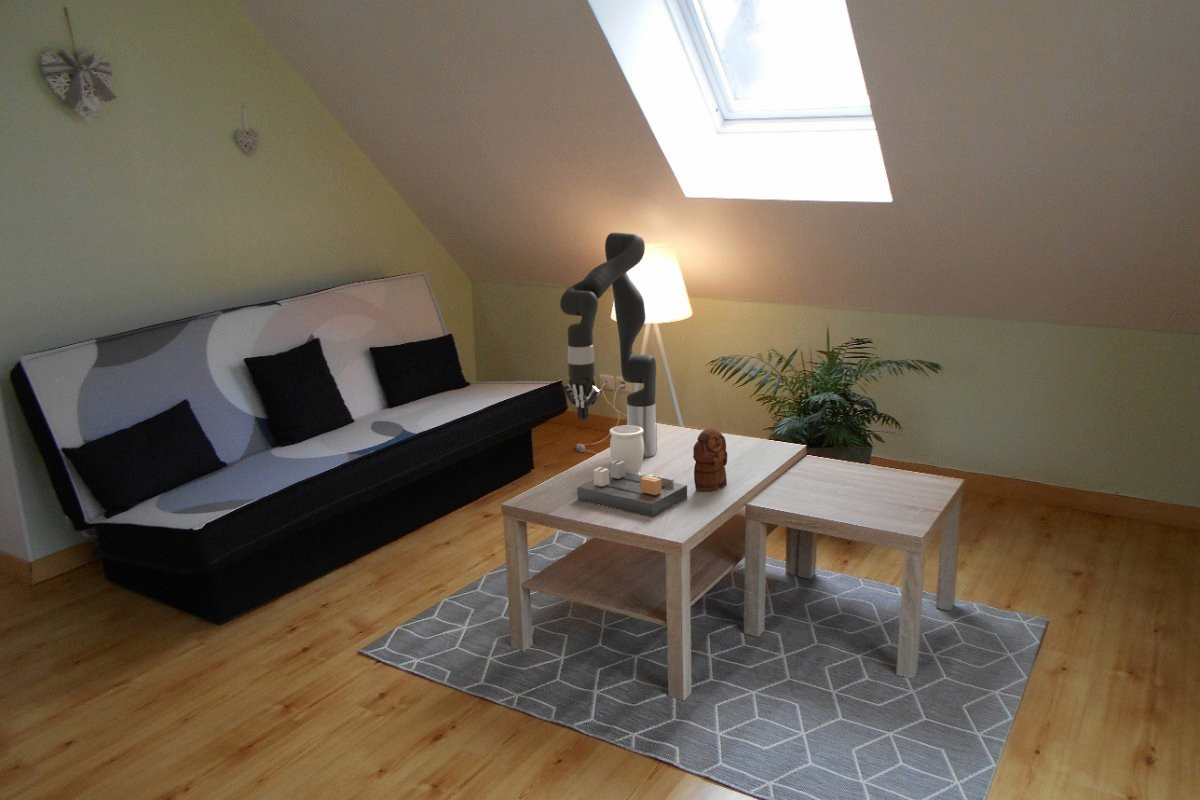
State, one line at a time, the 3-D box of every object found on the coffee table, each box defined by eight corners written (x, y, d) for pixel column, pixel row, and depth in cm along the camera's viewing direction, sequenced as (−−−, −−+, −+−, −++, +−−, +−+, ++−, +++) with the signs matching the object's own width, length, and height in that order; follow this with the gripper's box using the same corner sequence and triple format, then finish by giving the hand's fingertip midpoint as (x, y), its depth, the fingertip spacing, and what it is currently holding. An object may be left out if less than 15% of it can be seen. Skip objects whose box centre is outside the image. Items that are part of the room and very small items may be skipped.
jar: (641, 482, 304) (640, 434, 300) (607, 481, 306) (606, 433, 302) (646, 471, 314) (646, 425, 310) (614, 470, 316) (613, 424, 312)
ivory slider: (600, 481, 293) (599, 466, 292) (609, 483, 291) (608, 468, 290) (593, 484, 290) (593, 469, 289) (602, 486, 288) (602, 471, 287)
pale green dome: (647, 478, 294) (647, 472, 294) (658, 481, 292) (658, 474, 291) (639, 482, 291) (639, 475, 291) (650, 484, 289) (650, 478, 288)
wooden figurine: (709, 495, 292) (709, 435, 287) (691, 490, 296) (691, 432, 291) (731, 483, 301) (731, 426, 296) (713, 479, 304) (713, 422, 300)
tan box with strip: (646, 489, 285) (646, 475, 284) (661, 492, 282) (661, 478, 281) (640, 492, 283) (640, 477, 282) (655, 495, 280) (655, 481, 279)
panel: (614, 482, 305) (613, 462, 303) (687, 498, 289) (687, 477, 288) (577, 499, 291) (577, 478, 289) (652, 517, 276) (651, 495, 274)
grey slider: (616, 473, 299) (616, 459, 298) (625, 475, 297) (624, 461, 296) (610, 476, 296) (609, 462, 295) (618, 478, 295) (618, 463, 293)
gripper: (607, 360, 284) (609, 419, 288) (571, 355, 292) (573, 413, 296) (591, 365, 278) (593, 425, 283) (554, 360, 286) (557, 419, 290)
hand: (583, 419), depth 289 cm, fingers closed
